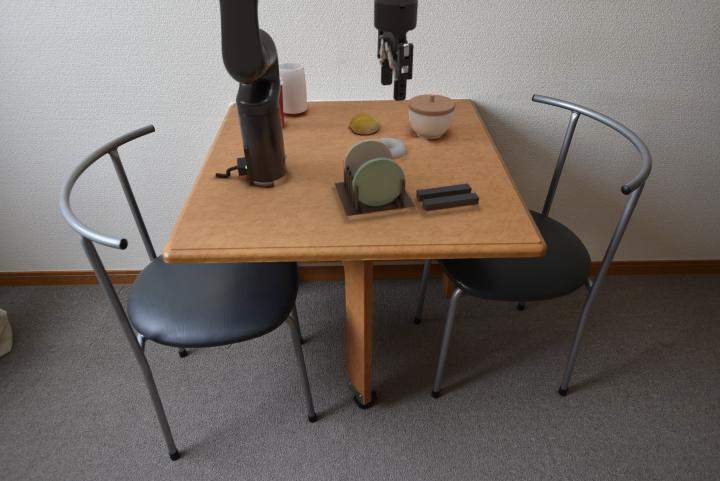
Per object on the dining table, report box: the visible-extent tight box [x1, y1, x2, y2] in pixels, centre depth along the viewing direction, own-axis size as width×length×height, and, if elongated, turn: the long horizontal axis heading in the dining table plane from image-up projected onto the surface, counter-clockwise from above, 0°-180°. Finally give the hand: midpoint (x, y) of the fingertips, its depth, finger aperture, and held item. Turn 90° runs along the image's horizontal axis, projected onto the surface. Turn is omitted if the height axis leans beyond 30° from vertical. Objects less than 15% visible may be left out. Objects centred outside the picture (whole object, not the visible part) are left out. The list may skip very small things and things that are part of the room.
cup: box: [279, 61, 308, 115], centre depth 143 cm, size 8×8×14 cm
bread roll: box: [348, 112, 380, 135], centre depth 135 cm, size 8×9×4 cm
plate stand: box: [415, 183, 480, 212], centre depth 103 cm, size 12×6×3 cm, turn 103°
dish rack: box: [334, 160, 416, 217], centre depth 104 cm, size 15×14×8 cm
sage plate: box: [352, 158, 406, 206], centre depth 98 cm, size 11×1×11 cm, turn 103°
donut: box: [376, 137, 408, 160], centre depth 122 cm, size 10×4×10 cm
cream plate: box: [343, 138, 394, 176], centre depth 105 cm, size 11×1×11 cm, turn 103°
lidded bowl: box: [407, 93, 456, 140], centre depth 130 cm, size 13×13×11 cm
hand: (392, 92), depth 91 cm, fingers open, 8 cm apart
